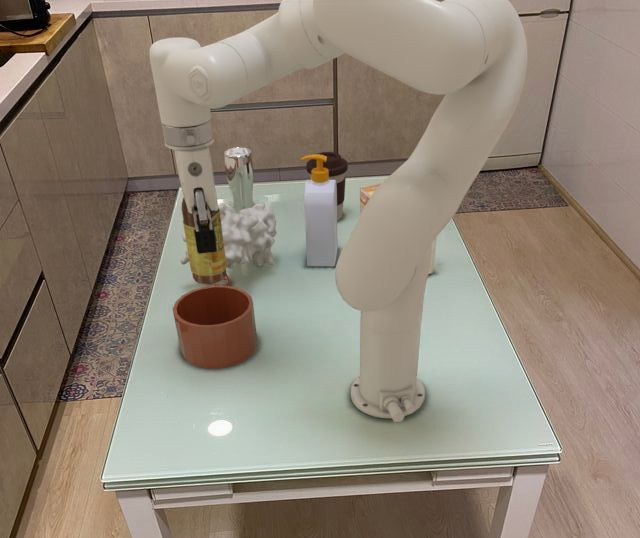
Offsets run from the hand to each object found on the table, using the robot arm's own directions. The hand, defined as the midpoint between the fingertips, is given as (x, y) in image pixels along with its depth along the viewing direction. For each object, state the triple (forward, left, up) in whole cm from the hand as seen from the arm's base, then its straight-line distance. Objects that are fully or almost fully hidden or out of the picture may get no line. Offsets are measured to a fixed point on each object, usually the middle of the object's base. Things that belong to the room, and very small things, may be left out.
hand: (204, 241), depth 113 cm
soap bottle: (+29, -27, -22) cm, 45 cm away
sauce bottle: (0, 0, -7) cm, 7 cm away
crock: (0, 0, -21) cm, 21 cm away
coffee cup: (+50, -34, -22) cm, 64 cm away
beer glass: (+60, -14, -22) cm, 65 cm away
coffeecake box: (+17, -41, -22) cm, 49 cm away
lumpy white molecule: (+26, -6, -22) cm, 34 cm away
